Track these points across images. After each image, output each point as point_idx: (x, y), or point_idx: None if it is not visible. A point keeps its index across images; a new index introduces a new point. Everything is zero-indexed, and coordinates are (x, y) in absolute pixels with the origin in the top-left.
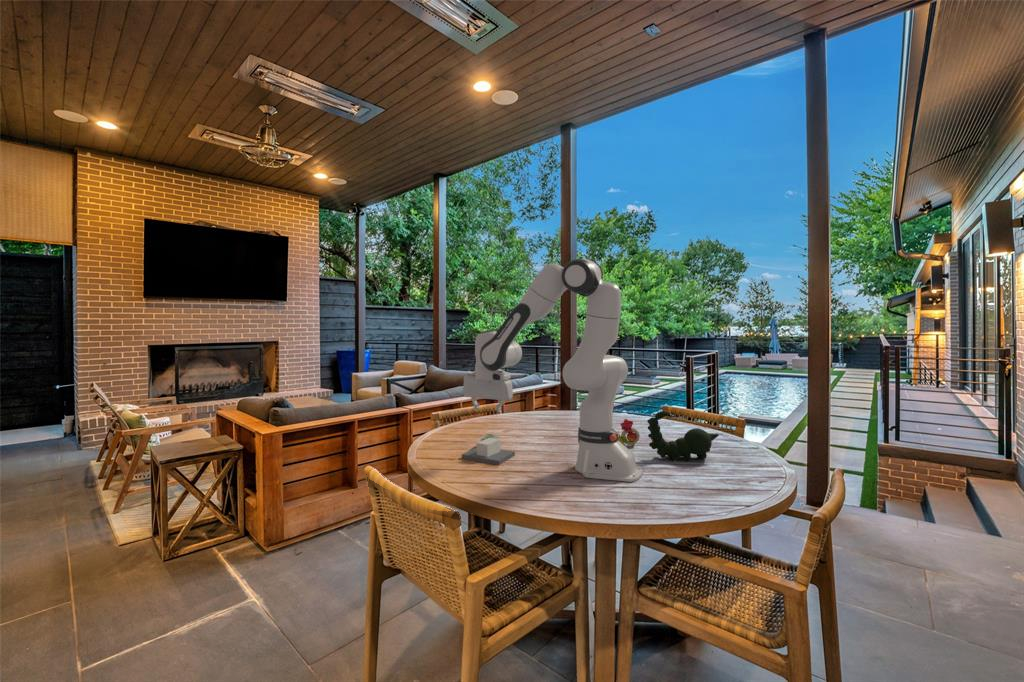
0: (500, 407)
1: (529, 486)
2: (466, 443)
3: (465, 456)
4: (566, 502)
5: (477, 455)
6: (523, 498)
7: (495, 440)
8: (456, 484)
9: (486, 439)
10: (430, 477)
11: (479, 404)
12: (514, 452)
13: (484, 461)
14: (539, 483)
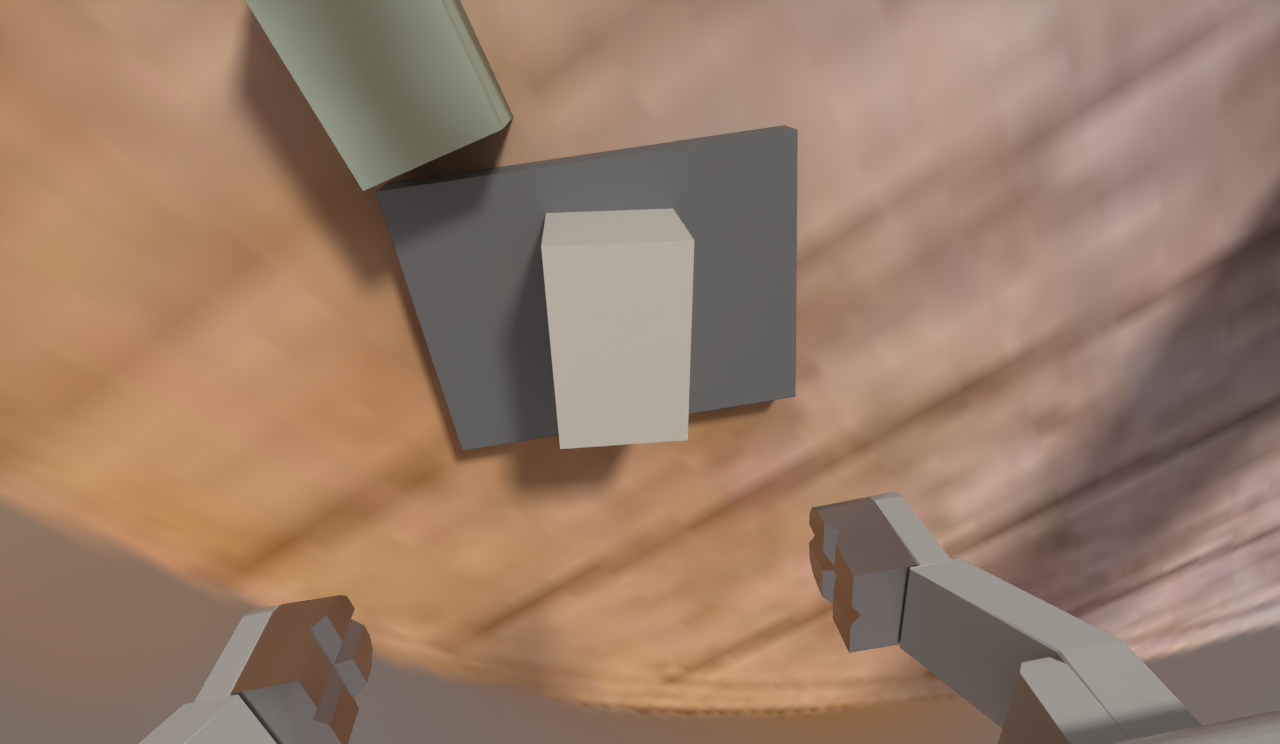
0: (933, 564)
1: (1075, 514)
2: (60, 70)
3: (497, 438)
4: (1260, 544)
5: None
6: (1077, 604)
7: (667, 294)
8: (743, 663)
9: (560, 320)
10: (577, 681)
11: (303, 676)
12: (794, 135)
13: None
14: (1117, 463)
